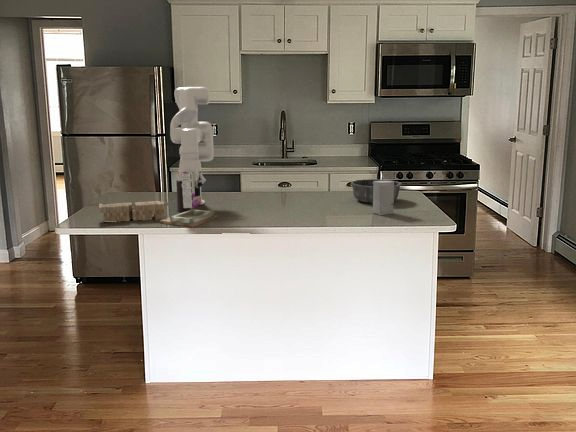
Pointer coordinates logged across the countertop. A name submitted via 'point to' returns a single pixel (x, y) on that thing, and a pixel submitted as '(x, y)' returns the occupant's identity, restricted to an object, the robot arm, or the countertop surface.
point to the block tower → (133, 211)
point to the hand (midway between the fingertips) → (191, 195)
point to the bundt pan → (369, 189)
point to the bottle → (180, 197)
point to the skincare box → (383, 197)
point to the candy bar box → (189, 191)
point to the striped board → (190, 218)
